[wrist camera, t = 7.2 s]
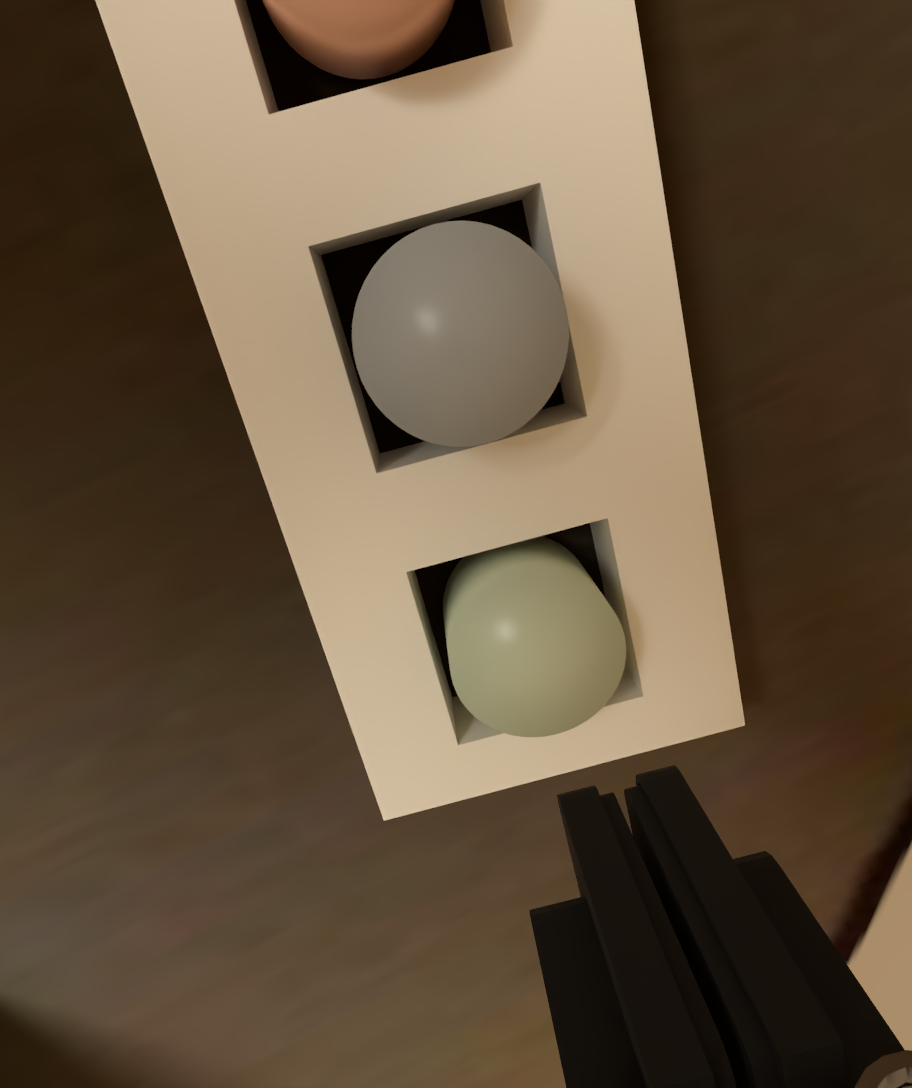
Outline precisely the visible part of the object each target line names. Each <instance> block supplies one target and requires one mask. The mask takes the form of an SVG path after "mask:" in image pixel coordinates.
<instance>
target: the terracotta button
mask: <svg viewBox="0 0 912 1088" xmlns="http://www.w3.org/2000/svg"><path fill="white" fill-rule="evenodd" d="M262 2H263V4H264V6H265V8H266V10H267V12H268V14H269V16H270V19H271V20H272V22H273V23H274V25H275V27H276V28H277V30H278V31H279V33H280V34H281V35H282V36H283V38H284V39H285V40H286V41H287V43H288V44H289V45H290V46H291V47H292V48H293V49H294V50H295V51H296V52H297V53H298V54H299V55H301V56H302V57H303V58H305V59H306V60H307V61H309V62H310V63H312V64H313V65H315V66H317V67H318V68H320V69H322V70H324V71H327V72H329V73H332V74H334V75H338V76H342V77H345V78H352V79H375V78H380V77H385V76H388V75H391V74H394V73H397V72H399V71H401V70H403V69H405V68H406V67H408V66H410V65H411V64H413V63H414V62H415V61H417V60H418V59H419V58H421V57H422V56H423V55H424V54H425V53H426V52H427V51H428V50H429V49H430V48H431V46H432V45H433V44H434V43H435V41H436V40H437V39H438V37H439V36H440V34H441V32H442V31H443V29H444V27H445V25H446V23H447V21H448V19H449V16H450V14H451V12H452V9H453V5H454V2H455V0H262Z"/></svg>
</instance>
